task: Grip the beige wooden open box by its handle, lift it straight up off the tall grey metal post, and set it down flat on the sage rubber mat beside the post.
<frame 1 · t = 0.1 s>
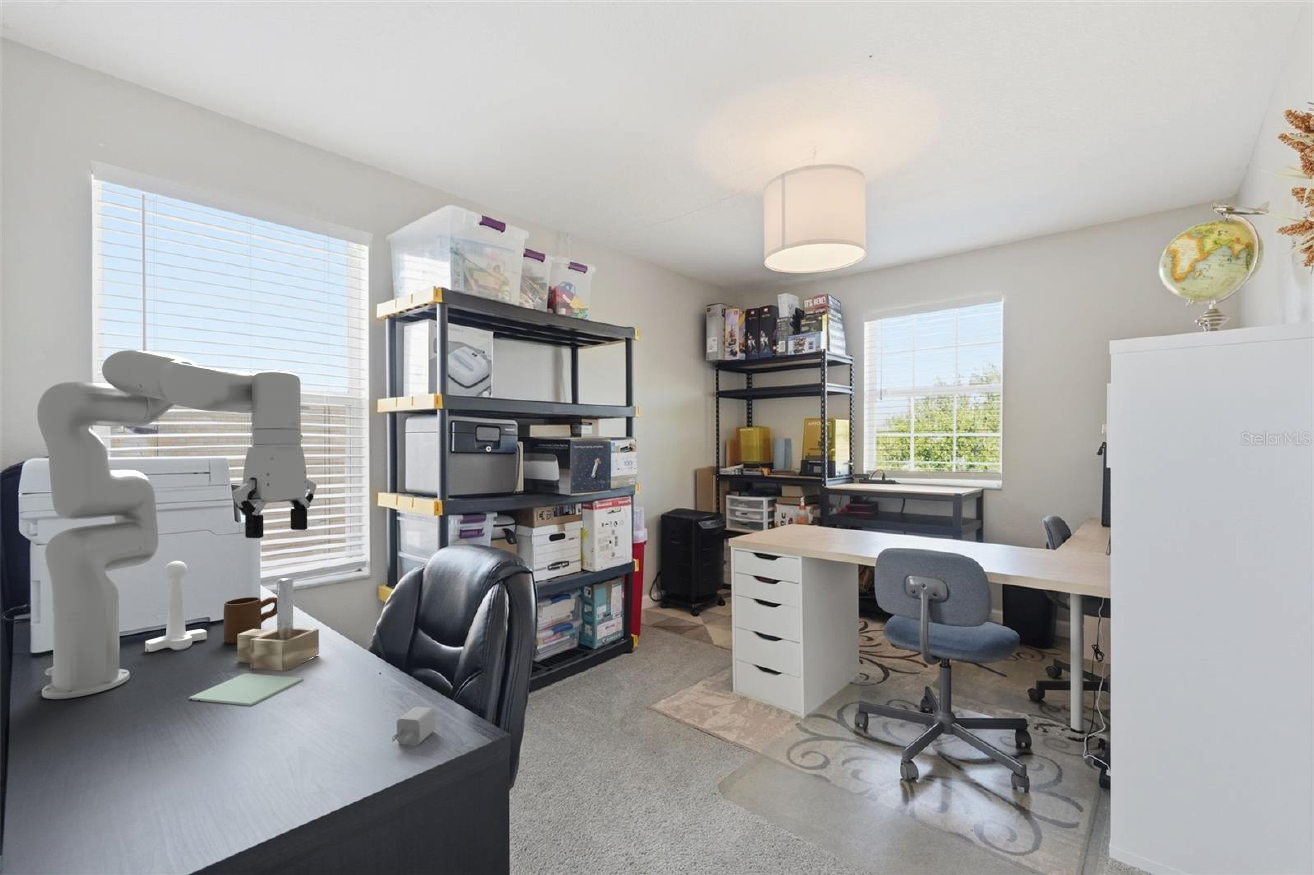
hand: (277, 533, 110), 31 cm above the table, tool pointing down, fingers open, 9 cm apart
usb wall charger: (411, 743, 95), on the table
beige wooden open box: (285, 661, 131), on the table
post: (285, 661, 131), on the table
mug: (253, 638, 149), on the table
mat: (248, 689, 117), on the table
joystick: (178, 647, 143), on the table
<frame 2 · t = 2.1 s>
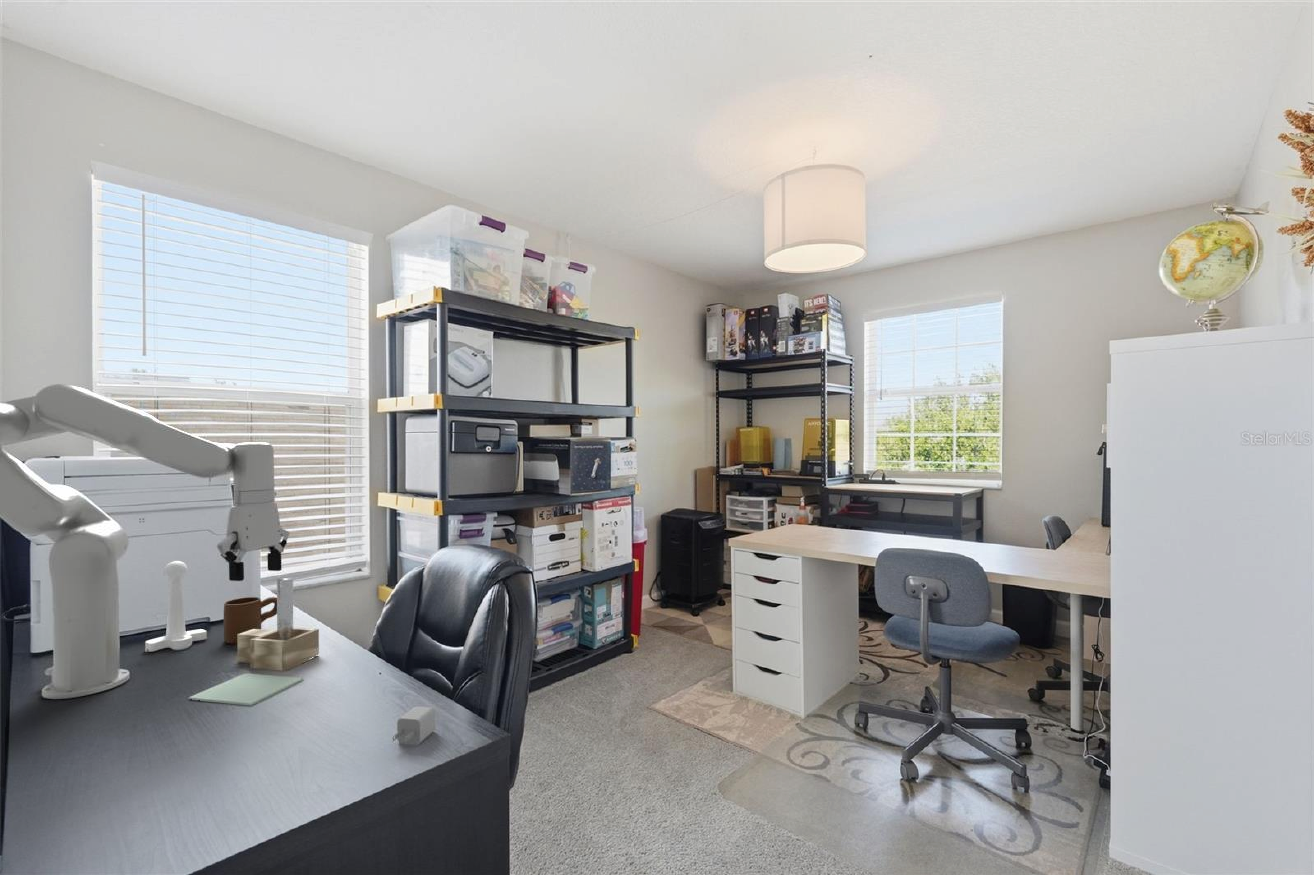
hand: (256, 575, 133), 19 cm above the table, tool pointing down, fingers open, 9 cm apart
nothing on the table moved.
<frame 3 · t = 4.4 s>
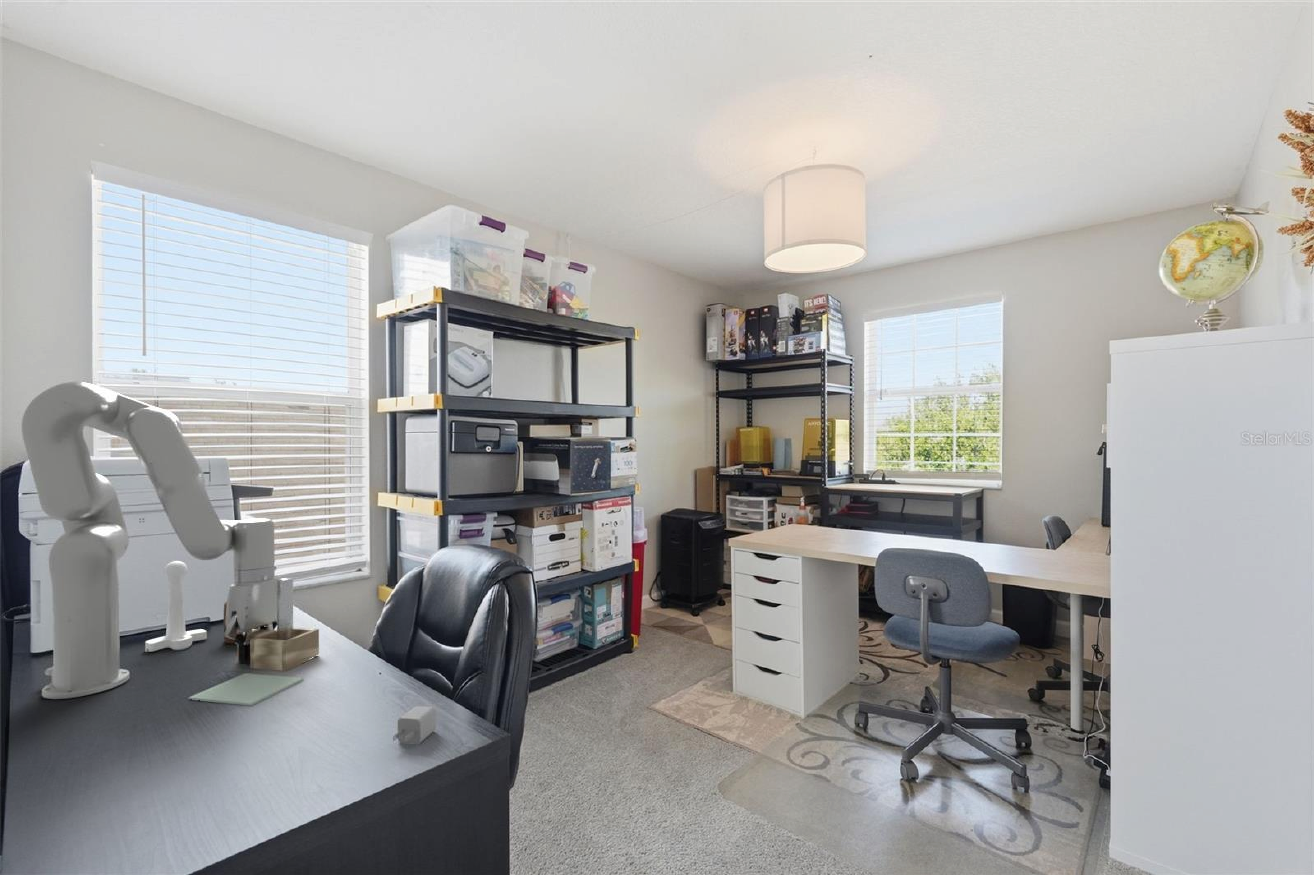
hand: (255, 657, 133), 1 cm above the table, tool pointing down, fingers closed on beige wooden open box, 4 cm apart
beige wooden open box: (285, 661, 131), on the table, touching gripper
everything else where it was.
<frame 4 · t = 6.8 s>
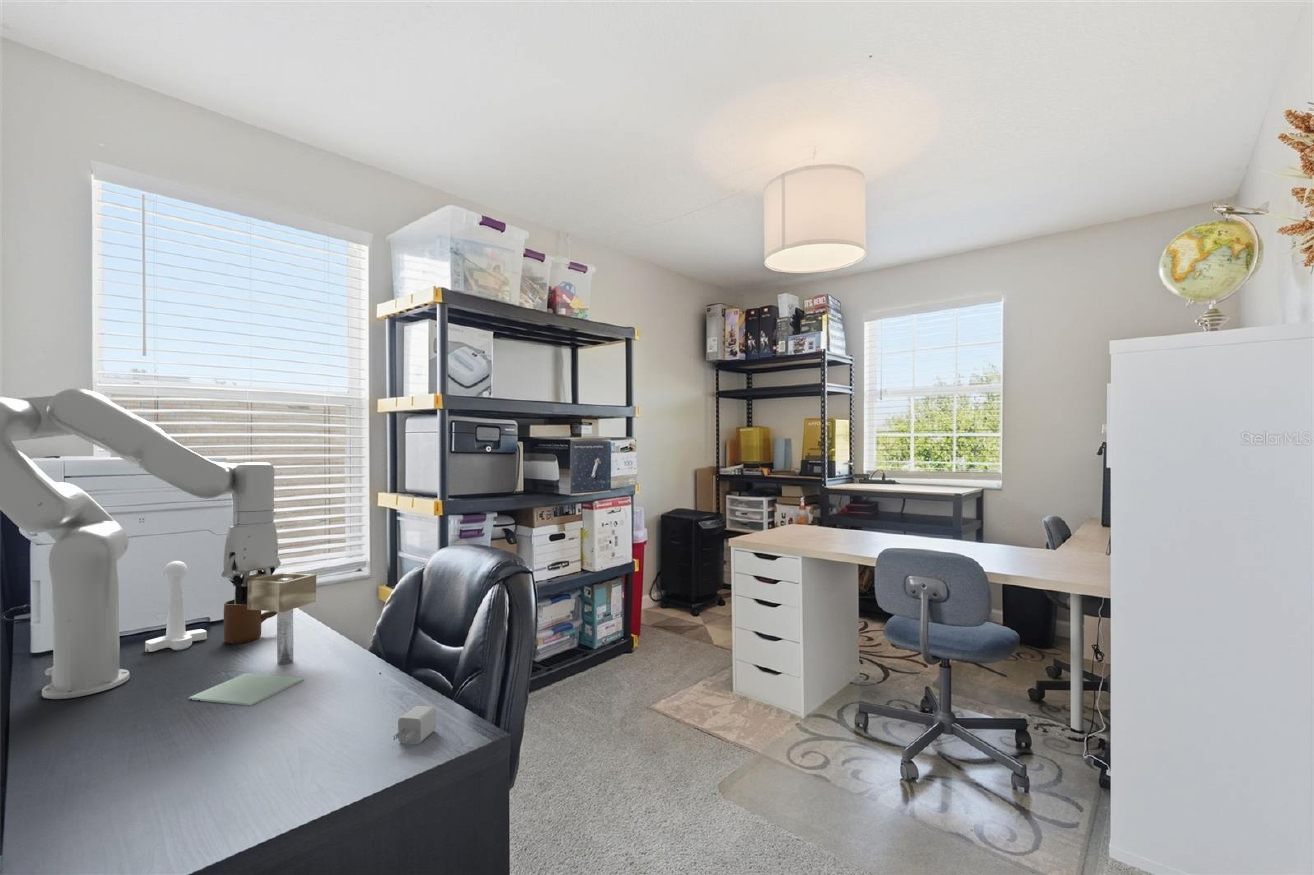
hand: (252, 600, 133), 13 cm above the table, tool pointing down, fingers closed on beige wooden open box, 4 cm apart
beige wooden open box: (282, 605, 131), point 12 cm above the table, touching gripper
everything else where it was.
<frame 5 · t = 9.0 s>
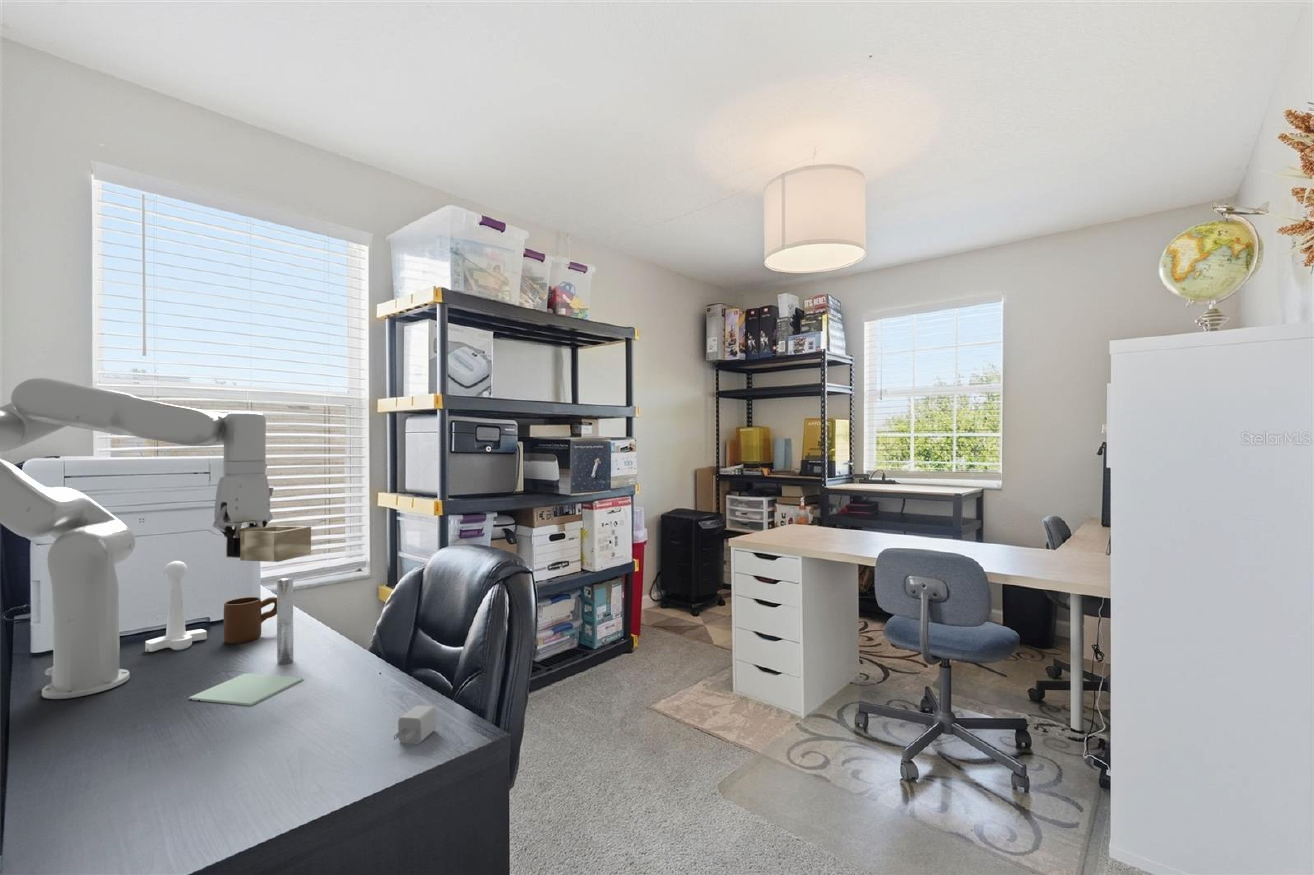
hand: (244, 553, 130), 24 cm above the table, tool pointing down, fingers closed on beige wooden open box, 4 cm apart
beige wooden open box: (276, 557, 128), point 23 cm above the table, touching gripper
everything else where it was.
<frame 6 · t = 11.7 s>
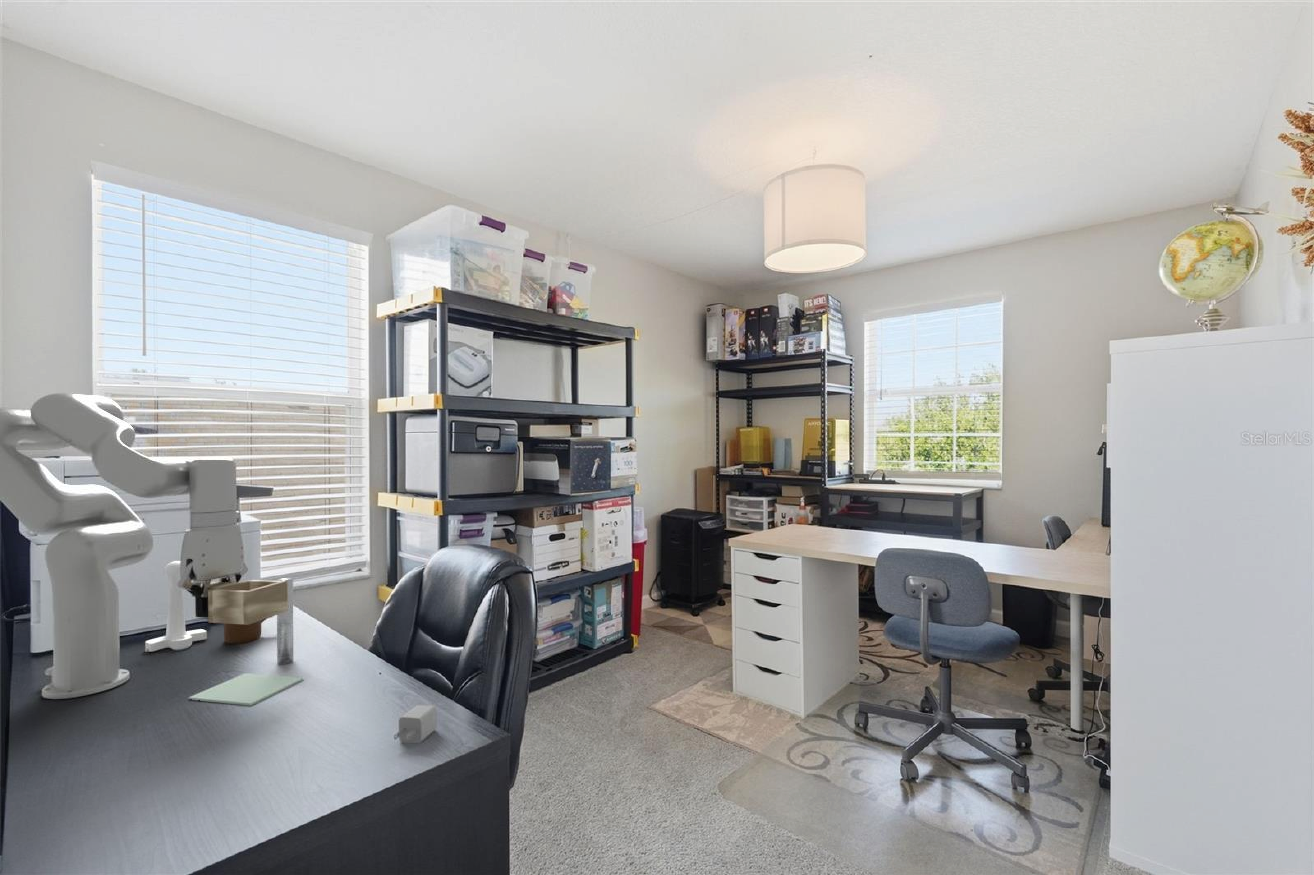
hand: (215, 612, 119), 15 cm above the table, tool pointing down, fingers closed on beige wooden open box, 4 cm apart
beige wooden open box: (249, 616, 117), point 14 cm above the table, touching gripper
everything else where it was.
when the fingers open (3 cm above the table, at t = 14.1 s): beige wooden open box drops 2 cm, resting on mat.
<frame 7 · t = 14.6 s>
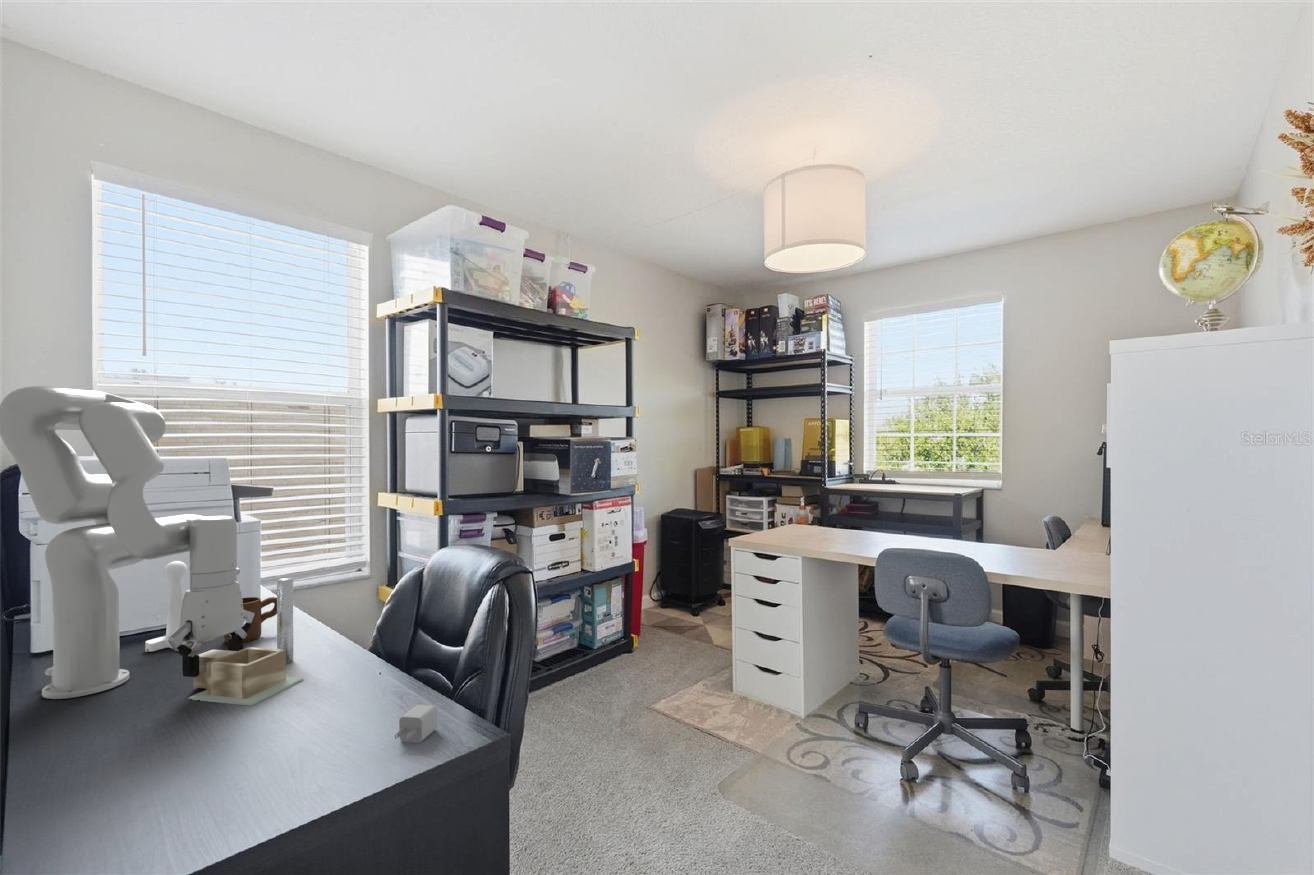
hand: (214, 667, 118), 4 cm above the table, tool pointing down, fingers open, 9 cm apart
beige wooden open box: (247, 687, 117), resting on mat
everything else where it was.
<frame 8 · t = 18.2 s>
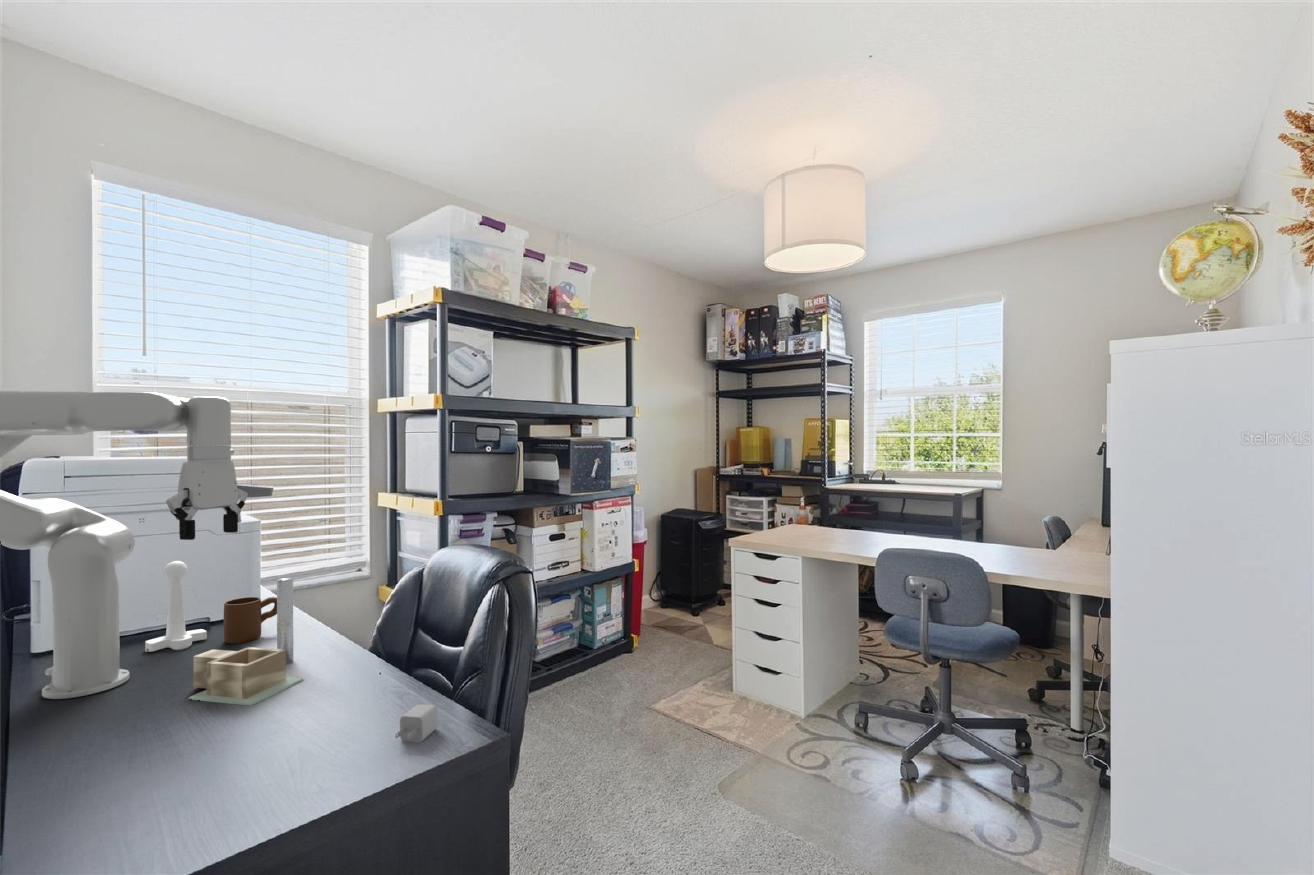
hand: (209, 535, 127), 28 cm above the table, tool pointing down, fingers open, 9 cm apart
nothing on the table moved.
at the end: beige wooden open box 0.2 cm from the mat (horizontally); beige wooden open box on the table; beige wooden open box tilted 0° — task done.
